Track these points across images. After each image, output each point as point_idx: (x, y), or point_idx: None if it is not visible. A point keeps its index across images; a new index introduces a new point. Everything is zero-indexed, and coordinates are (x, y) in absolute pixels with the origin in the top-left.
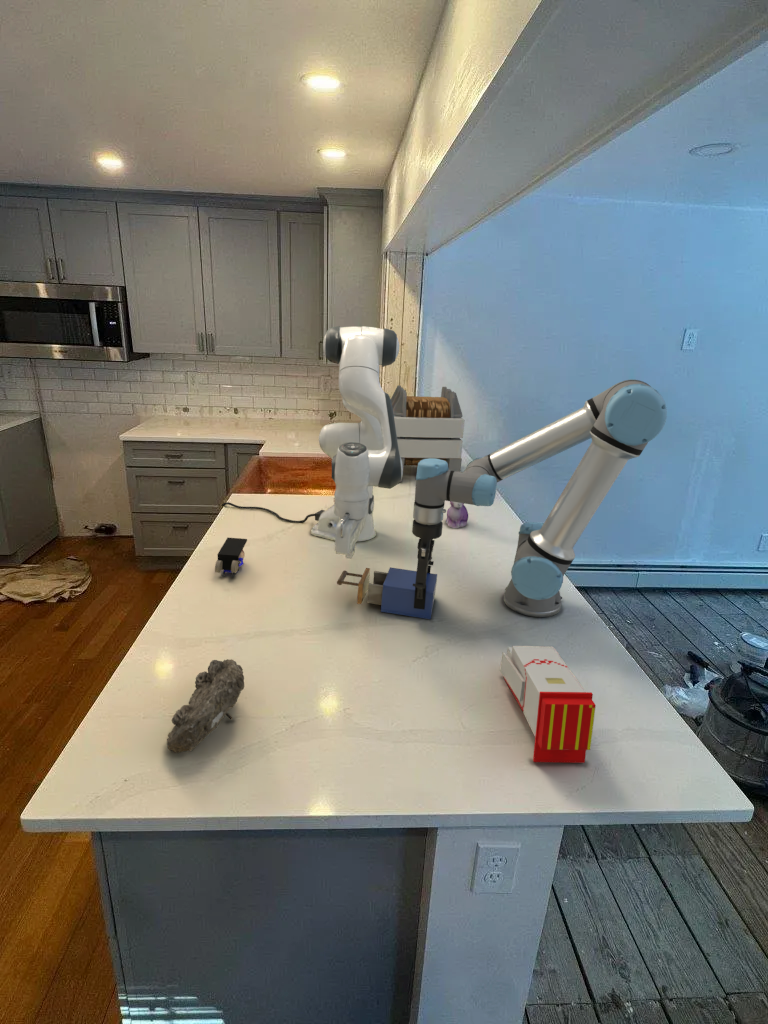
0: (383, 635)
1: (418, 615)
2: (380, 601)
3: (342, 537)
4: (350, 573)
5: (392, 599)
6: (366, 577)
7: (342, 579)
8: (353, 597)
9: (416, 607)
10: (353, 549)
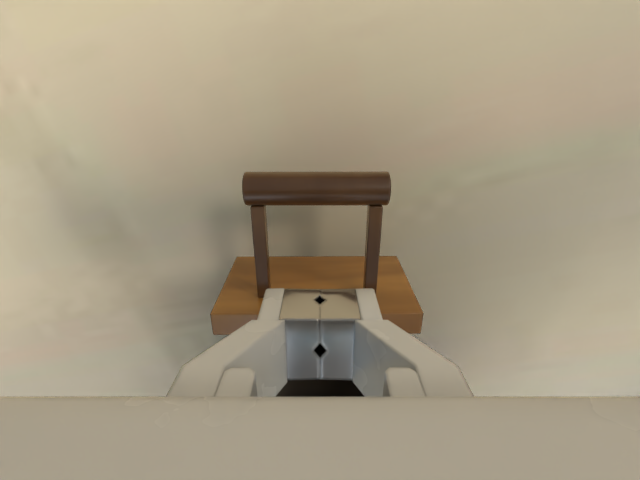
0: (104, 359)
1: None
2: None
3: (191, 452)
4: (373, 225)
5: None
6: None
7: (268, 203)
8: (334, 212)
9: None
10: (342, 375)
